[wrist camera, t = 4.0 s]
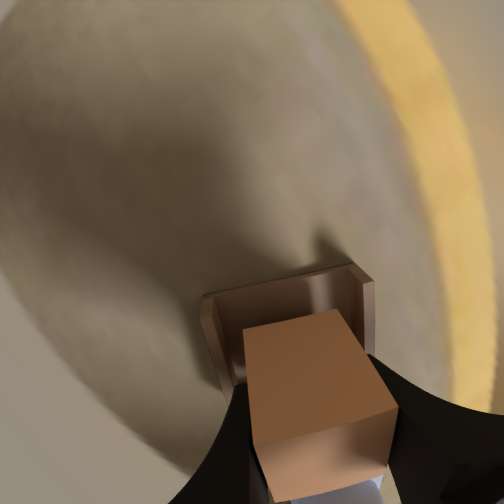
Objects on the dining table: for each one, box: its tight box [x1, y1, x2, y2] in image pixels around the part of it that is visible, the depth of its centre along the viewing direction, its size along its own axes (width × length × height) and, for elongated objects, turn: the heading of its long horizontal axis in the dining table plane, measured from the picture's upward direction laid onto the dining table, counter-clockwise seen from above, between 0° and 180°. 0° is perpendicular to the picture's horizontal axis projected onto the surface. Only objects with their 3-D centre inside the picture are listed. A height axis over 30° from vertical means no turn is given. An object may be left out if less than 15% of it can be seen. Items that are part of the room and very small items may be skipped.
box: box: [199, 263, 375, 407], centre depth 14 cm, size 6×7×2 cm
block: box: [243, 309, 399, 503], centre depth 11 cm, size 4×4×6 cm
